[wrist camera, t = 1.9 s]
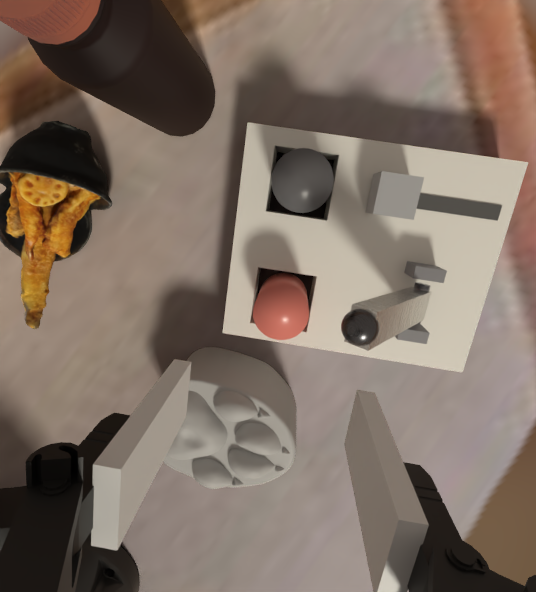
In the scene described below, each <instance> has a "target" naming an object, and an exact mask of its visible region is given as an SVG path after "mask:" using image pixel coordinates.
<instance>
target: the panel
mask: <svg viewBox="0 0 536 592" xmlns="http://www.w3.org/2000/svg"><path fill="white" fill-rule="evenodd" d="M298 148H309V149H313V150H315V151H317V152H319V153H320V154H322V155H323V156H324V157H325V158H326V159H329V160H334V165H333V170H332V171H333V177H334V182H333V188H332V191H331V194H330V196H329V198H328V199H327V203H326V209H325V214H324V218H317V217H311V216H304V215H298V214H291V213H284V212H278V211H271V210H269V207H270V200H271V193H272V182H271V180H272V173H273V170H274V167H275V165H276V158H277V152H281V153H288V152H289V151H291V150H294V149H298ZM527 165H528V162H521V161H515V160H508V159H501V158H494V157H487V156H480V155H473V154H466V153H459V152H452V151H445V150H438V149H431V148H424V147H417V146H410V145H403V144H396V143H389V142H382V141H375V140H368V139H361V138H354V137H347V136H340V135H333V134H326V133H319V132H312V131H305V130H298V129H291V128H284V127H277V126H270V125H263V124H256V123H249V122H248V123H247V131H246V140H245V148H244V156H243V165H242V173H241V182H240V190H239V198H238V207H237V215H236V223H235V232H234V240H233V249H232V257H231V265H230V274H229V282H228V290H227V299H226V307H225V315H224V324H223V332H222V333H225V334H231V335H238V336H244V337H250V338H256V339H262V340H268V341H274V342H280V343H286V344H292V345H298V346H304V347H311V348H317V349H323V350H329V351H335V352H341V353H347V354H353V355H359V356H365V357H371V358H377V359H383V360H390V361H396V362H402V363H408V364H414V365H420V366H426V367H432V368H438V369H444V370H450V371H456V372H463V369H464V366H465V363H466V360H467V357H468V353H469V350H470V347H471V344H472V341H473V337H474V334H475V331H476V328H477V325H478V321H479V318H480V315H481V312H482V309H483V306H484V302H485V299H486V296H487V293H488V290H489V286H490V283H491V280H492V277H493V274H494V270H495V267H496V264H497V261H498V258H499V254H500V251H501V248H502V245H503V242H504V238H505V235H506V232H507V229H508V226H509V223H510V219H511V216H512V213H513V210H514V207H515V203H516V200H517V197H518V194H519V191H520V187H521V184H522V181H523V178H524V175H525V171H526V168H527ZM381 171H384V172H391V173H398V174H405V175H412V176H419V177H424V180H423V184H422V188H421V192H420V196H419V201H418V205H417V209H416V213H415V217H414V220H411V219H404V218H398V217H391V216H384V215H378V214H371V213H365V212H366V207H367V203H368V198H369V193H370V188H371V183H372V179H373V174H375V173H378V172H381ZM261 268H266V269H273V270H279V271H285V272H292V273H298V274H304V275H311V276H313V280H312V286H311V291H310V297H309V302H308V306H309V319H308V322H307V325H306V327H305V328H304V330H303V331H302V332H301V333H300V334H298V335H297V336H295V337H293V338H291V339H287V340H276V339H272V338H269V337H267V336H266V335H264V334H263V333H262V332H261V331H260V330H259V329H258V327H257V326H256V324H255V322H254V318H253V308H254V304H255V301H256V299H257V292H258V285H259V278H260V271H261ZM415 282H418V283H424V284H428V285H430V290H429V291H431V296H430V299H429V303H428V307H427V310H426V314H425V318H424V320H423V321H421V323H420V324H415V325H414V326H412V327H410V328H408V329H406V330H405V331H403V332H401V333H399V334H397V335H396V336H394V337H392V338H390V339H388V340H387V341H385V342H383V343H381V344H380V345H378V346H376V347H374V348H372V349H371V350H369V351H367V350H365V349H362V348H360V347H357V346H355V345H352V344H349V343H347V342H344V339H345V338H344V336H343V334H342V331H341V323H342V320H343V318H344V316H345V315H346V314H347V313H348V312H350V311H351V306H352V304H354V303H358V302H361V301H364V300H368V299H371V298H375V297H378V296H381V295H385V294H388V293H392V292H395V291H398V290H402V289H405V288H409V287H414V285H415Z"/></svg>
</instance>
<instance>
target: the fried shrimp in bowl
mask: <svg viewBox="0 0 536 592" xmlns="http://www.w3.org/2000/svg"><path fill="white" fill-rule="evenodd" d="M0 183H1V184H3V185H4V186H6V190H5V191H4V192H3V193H2V194H0V241H1V242H2V243H3V244H4V246H5V247H7V248H8V249H9V250H11V251H12V252H14V253H15V254H16V255H18V256H20V257H21V259H22V265H23V267H22V270H21V289H22V293H21V300H22V302H23V305H24V308H25V321H26V324H27V325H28V326H30V327H31V328H33V329H37V328H38V327H39V325H40V319H41V317H42V315H43V314H42V312H43V308H45V307H46V296H47V294H48V293H49V288H48V283H49V276H50V271H51V268H52V265H53V262H54V261H61V260H64V259H66V258H68V257H70V256H71V255H73V254H75V253H77V252H79V251H80V250H81V249H82V248H83V247H84V245H85V244H86V243H87V241H88V239H89V237H90V234H91V230H92V223H91V221H92V220H91V213H90V210H92V209H97V210H105V209H108V208H110V207H111V206H112V201H111V199H110V197H109V196H108V194H107V176H106V174H105V172H104V171H103V170H102V168H101V166H100V163H99V161H98V159H97V157H96V155H95V153H94V152H93V150H92V146H91V137H90V135H89V133H88V132H86V131H83V130H80V129H77V128H76V127H73V126H71V125H68V124H64V123H61V122H59V121H52V122H44V123H43V122H42V124H41V126H40V127H39V128H38V129H36V130H33V131H31V132H30V133H28V134H27V135H25V136H24V137H22V138H21V139H19V140H18V141H16V142H15V143H14V144H13V145H12V147H11V148H10V149H9V151H8V153H7V155H6V157H5V159H4V160H3V162H2V164H1V166H0Z"/></svg>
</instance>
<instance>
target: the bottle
mask: <svg viewBox="0 0 536 592" xmlns="http://www.w3.org/2000/svg"><path fill="white" fill-rule="evenodd" d="M0 21H2V22H3V23H5V24H7V25H8V26H10V27H11V28H13V29H15V30H16V31H18V32H20V33H21V34H23V35H25V36H27V37H28V40H29V42H30V44H31V45H32V47H33V48H34V50H35V51H36V53H37V55H38V56H39V58H40V59H41V61H42V63H43V64H45V65H46V66H47V67H48V68H49V69H50V70H51V71H52V72H53V73H54V74H55V75H57V76H58V77H59V78H60V79H61V80H63V81H65V82H67V83H69V84H71V85H73V86H75V87H77V88H79V89H81V90H83V91H84V92H86V93H88V94H90V95H92V96H94V97H96V98H98V99H100V100H102V101H104V102H106V103H108V104H110V105H112V106H113V107H115V108H117V109H119V110H121V111H123V112H125V113H127V114H129V115H131V116H133V117H135V118H137V119H139V120H140V121H142V122H144V123H146V124H148V125H150V126H152V127H154V128H156V129H158V130H160V131H162V132H164V133H166V134H168V135H172V136H185V135H189V134H193V133H195V132H196V131H198V130H199V129H201V128H202V127H203V126H204V125H205V123H206V122H207V121H208V120H209V118H210V116H211V113H212V111H213V108H214V104H215V89H214V84H213V79H212V77H211V75H210V74H209V72H208V70H207V68H206V66H205V65H204V63H203V62H202V60H201V59H200V57H199V56H198V54H197V53H196V51H195V50H194V49H193V47H192V46H191V44H190V43H189V41H188V40H187V38H186V37H185V35H184V34H183V32H182V31H181V29H180V28H179V26H178V25H177V23H176V22H175V20H174V19H173V17H172V16H171V14H170V13H169V11H168V10H167V8H166V7H165V5H164V4H163V2H162V1H161V0H0Z"/></svg>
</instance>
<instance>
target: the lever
mask: <svg viewBox="0 0 536 592" xmlns="http://www.w3.org/2000/svg"><path fill="white" fill-rule="evenodd" d="M429 290H430V285H428V284H424V283H418V282H415V285H414V287H409V288H405V289H402V290H398V291H395V292H392V293H388V294H385V295H381V296H378V297H375V298H371V299H368V300H364V301H361V302H358V303H354V304H352V306H351V311H350V312H348V313H347V314H346V315H345V316H344V318H343V320H342V323H341V331H342V334H343V336H344V338H345V339H344V342H347V343H349V344H352V345H355V346H357V347H360V348H362V349H365V350H367V351H369V350H371V349H372V348H374V347H376V346H378V345H380V344H381V343H383V342H385V341H387V340H388V339H390V338H392V337H394V336H396V335H397V334H399V333H401V332H403V331H405V330H406V329H408V328H410V327H412V326H414V325H415V324H420V323H421V321H423V320H424V318H425V314H426V310H427V307H428V303H429V299H430V296H431V291H429Z"/></svg>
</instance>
